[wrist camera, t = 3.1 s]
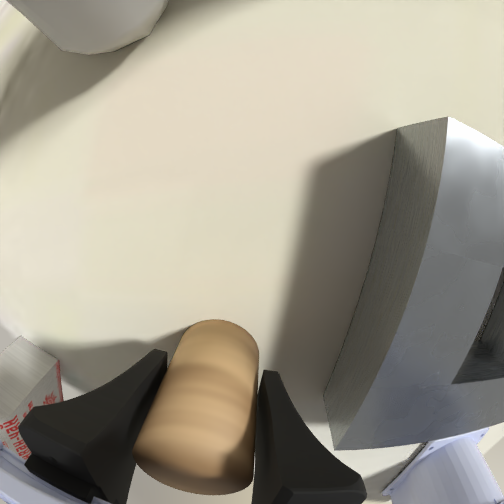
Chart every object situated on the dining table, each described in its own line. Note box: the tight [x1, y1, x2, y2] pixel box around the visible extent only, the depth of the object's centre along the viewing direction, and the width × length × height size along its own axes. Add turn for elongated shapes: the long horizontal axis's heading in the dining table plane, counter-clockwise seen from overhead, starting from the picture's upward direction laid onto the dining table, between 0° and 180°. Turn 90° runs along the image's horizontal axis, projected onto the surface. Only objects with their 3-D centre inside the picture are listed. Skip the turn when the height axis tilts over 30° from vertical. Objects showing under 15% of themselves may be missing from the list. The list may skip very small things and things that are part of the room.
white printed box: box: [0, 336, 64, 461], centre depth 11 cm, size 4×7×10 cm, turn 160°
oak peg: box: [132, 320, 259, 495], centre depth 11 cm, size 4×4×7 cm
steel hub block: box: [323, 117, 504, 450], centre depth 11 cm, size 14×14×4 cm
